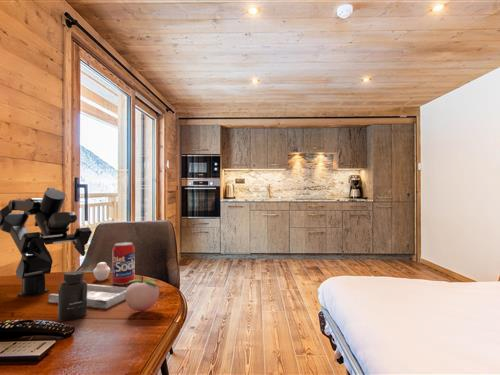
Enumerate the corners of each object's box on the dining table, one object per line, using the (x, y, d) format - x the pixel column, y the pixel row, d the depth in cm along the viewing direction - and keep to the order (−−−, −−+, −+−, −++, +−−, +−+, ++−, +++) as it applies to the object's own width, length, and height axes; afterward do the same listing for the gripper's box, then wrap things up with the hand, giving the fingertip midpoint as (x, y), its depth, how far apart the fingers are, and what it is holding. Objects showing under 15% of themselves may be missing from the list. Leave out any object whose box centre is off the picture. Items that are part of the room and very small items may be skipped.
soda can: (127, 278, 117) (127, 241, 117) (138, 282, 112) (138, 243, 113) (108, 283, 111) (108, 244, 111) (119, 287, 106) (119, 245, 106)
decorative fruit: (118, 318, 78) (118, 281, 79) (131, 307, 87) (131, 273, 87) (153, 318, 78) (153, 281, 79) (162, 306, 87) (162, 273, 87)
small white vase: (111, 280, 116) (111, 262, 116) (93, 282, 112) (93, 264, 113) (109, 276, 121) (109, 259, 121) (92, 278, 118) (92, 261, 118)
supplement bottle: (73, 322, 76) (74, 276, 77) (51, 320, 78) (52, 275, 78) (92, 312, 83) (92, 269, 83) (72, 310, 84) (72, 269, 85)
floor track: (48, 302, 92) (48, 294, 92) (81, 289, 103) (81, 283, 104) (106, 308, 86) (106, 300, 86) (134, 294, 97) (134, 288, 98)
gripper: (21, 205, 84) (39, 241, 77) (87, 203, 100) (107, 233, 92) (11, 235, 88) (28, 272, 80) (77, 228, 103) (95, 259, 96)
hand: (68, 257), depth 87 cm, fingers open, 9 cm apart
